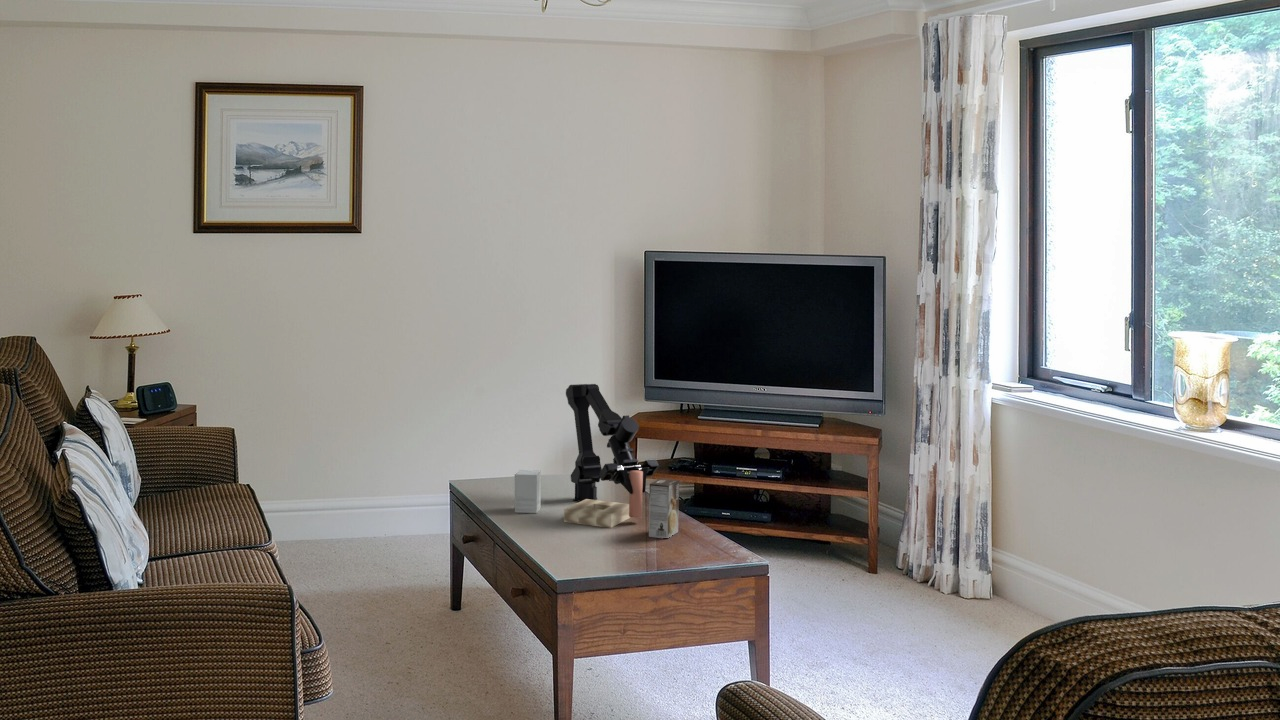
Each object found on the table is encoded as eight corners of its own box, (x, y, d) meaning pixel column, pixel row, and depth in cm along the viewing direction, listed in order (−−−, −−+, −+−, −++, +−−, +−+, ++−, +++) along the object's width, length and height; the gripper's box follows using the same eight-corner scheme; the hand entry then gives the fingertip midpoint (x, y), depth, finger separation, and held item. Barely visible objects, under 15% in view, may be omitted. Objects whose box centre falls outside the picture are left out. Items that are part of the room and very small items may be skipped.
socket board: (563, 521, 337) (564, 509, 337) (586, 511, 352) (586, 498, 352) (611, 527, 331) (611, 515, 331) (631, 516, 346) (632, 504, 346)
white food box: (658, 529, 330) (660, 477, 329) (678, 532, 328) (680, 479, 326) (647, 537, 322) (649, 483, 320) (668, 539, 319) (669, 485, 318)
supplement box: (541, 508, 354) (541, 470, 353) (536, 513, 347) (537, 474, 346) (518, 507, 355) (519, 469, 354) (513, 512, 348) (514, 473, 347)
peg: (626, 516, 337) (627, 472, 335) (631, 514, 340) (633, 469, 339) (638, 518, 335) (640, 473, 334) (643, 515, 339) (644, 471, 337)
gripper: (638, 463, 354) (654, 504, 346) (586, 467, 345) (602, 509, 336) (651, 443, 347) (668, 484, 338) (598, 447, 337) (615, 489, 329)
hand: (638, 492), depth 336 cm, fingers closed on peg, 4 cm apart
